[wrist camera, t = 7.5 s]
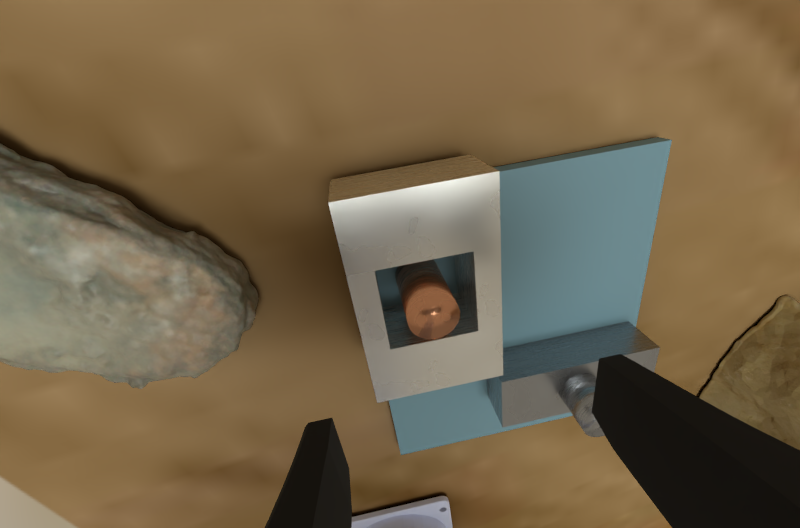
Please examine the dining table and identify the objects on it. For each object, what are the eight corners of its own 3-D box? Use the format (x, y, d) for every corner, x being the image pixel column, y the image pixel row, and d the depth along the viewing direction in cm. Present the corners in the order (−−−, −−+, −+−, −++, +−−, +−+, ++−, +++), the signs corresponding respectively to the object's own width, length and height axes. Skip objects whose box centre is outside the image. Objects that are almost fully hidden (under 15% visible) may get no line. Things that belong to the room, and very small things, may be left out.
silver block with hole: (470, 154, 15) (499, 171, 12) (480, 333, 19) (503, 375, 16) (330, 179, 14) (328, 202, 12) (372, 356, 18) (377, 402, 16)
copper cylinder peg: (440, 289, 17) (461, 333, 14) (398, 297, 17) (411, 344, 14) (436, 250, 16) (457, 289, 13) (392, 259, 16) (403, 300, 13)
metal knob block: (611, 356, 22) (679, 425, 18) (482, 384, 22) (519, 463, 17) (618, 312, 21) (694, 376, 16) (480, 342, 20) (520, 416, 16)
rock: (715, 485, 26) (881, 428, 23) (795, 587, 18) (1064, 520, 15) (621, 352, 28) (763, 283, 25) (656, 390, 20) (870, 295, 17)
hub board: (612, 394, 24) (620, 404, 23) (399, 443, 23) (400, 455, 22) (657, 137, 16) (671, 139, 16) (343, 194, 15) (343, 200, 15)
